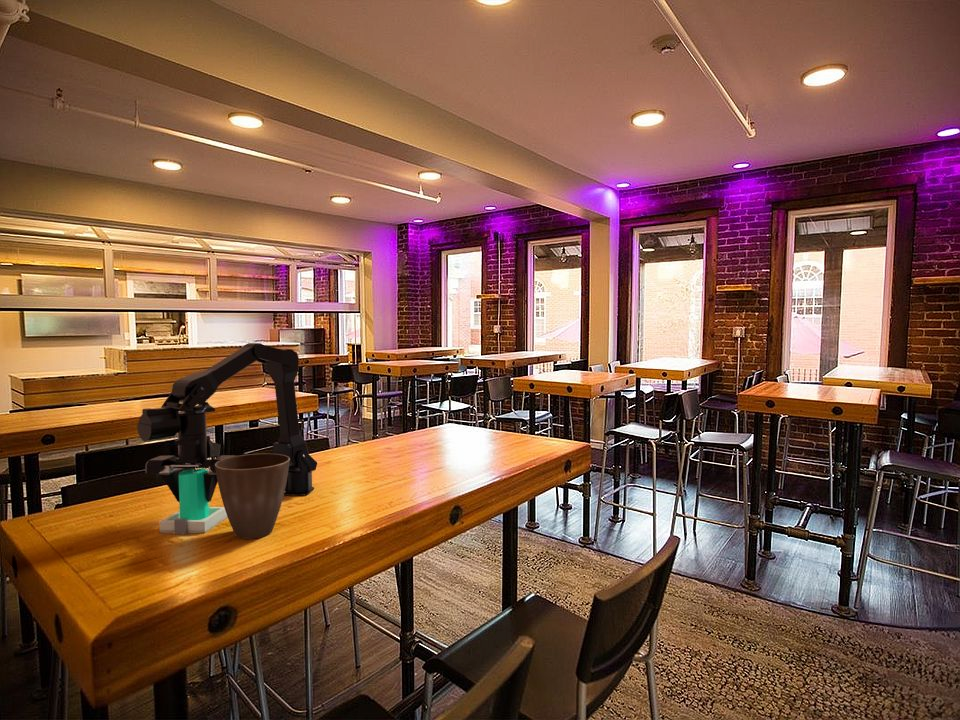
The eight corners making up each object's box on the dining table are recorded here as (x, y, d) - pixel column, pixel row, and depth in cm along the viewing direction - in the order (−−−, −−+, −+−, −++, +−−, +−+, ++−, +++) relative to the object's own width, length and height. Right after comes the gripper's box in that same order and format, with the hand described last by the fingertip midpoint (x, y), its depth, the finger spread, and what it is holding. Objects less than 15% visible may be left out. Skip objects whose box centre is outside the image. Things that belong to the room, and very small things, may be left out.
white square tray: (227, 517, 125) (227, 504, 125) (203, 534, 115) (202, 519, 114) (185, 517, 126) (185, 504, 125) (157, 534, 115) (156, 519, 115)
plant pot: (269, 516, 126) (267, 450, 125) (304, 531, 116) (303, 459, 116) (204, 535, 114) (202, 461, 114) (237, 552, 105) (235, 473, 104)
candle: (204, 520, 118) (203, 467, 117) (175, 522, 117) (173, 468, 116) (213, 511, 124) (211, 461, 123) (185, 513, 123) (183, 462, 122)
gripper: (249, 427, 127) (251, 490, 128) (172, 427, 128) (174, 491, 128) (226, 435, 116) (228, 505, 117) (142, 436, 117) (145, 506, 117)
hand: (194, 501), depth 120 cm, fingers closed on candle, 6 cm apart
